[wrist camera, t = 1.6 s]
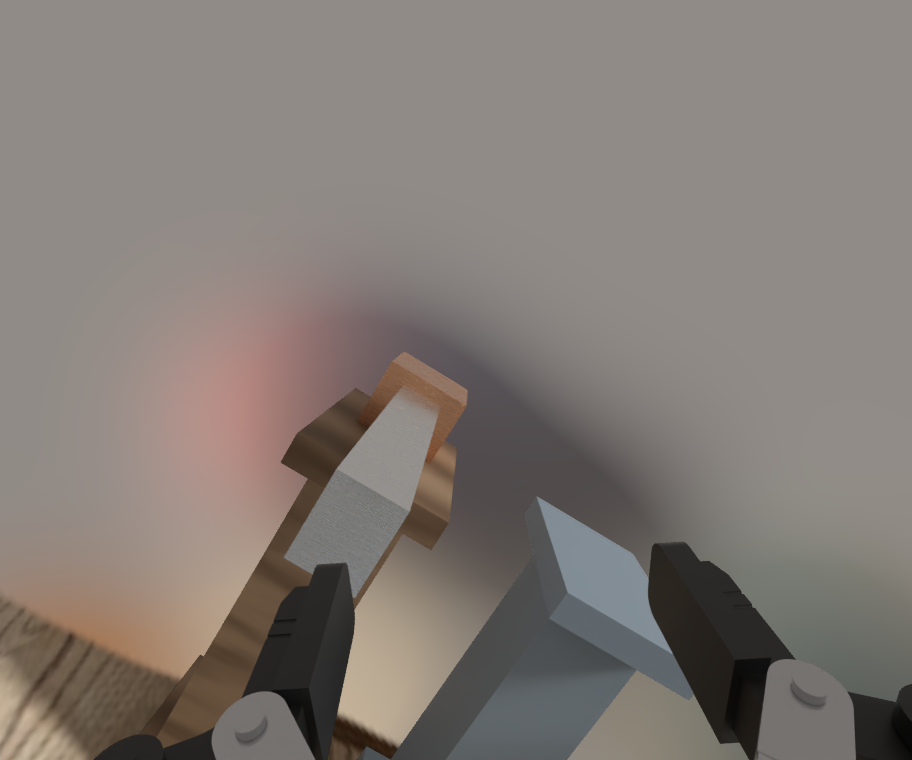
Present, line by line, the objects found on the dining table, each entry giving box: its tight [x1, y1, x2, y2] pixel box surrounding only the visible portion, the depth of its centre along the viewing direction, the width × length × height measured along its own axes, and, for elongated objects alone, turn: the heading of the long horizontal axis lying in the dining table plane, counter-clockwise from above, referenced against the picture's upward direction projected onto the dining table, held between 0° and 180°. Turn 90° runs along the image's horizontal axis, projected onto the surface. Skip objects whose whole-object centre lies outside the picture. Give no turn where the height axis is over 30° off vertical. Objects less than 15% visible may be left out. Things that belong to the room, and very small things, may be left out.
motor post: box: [357, 497, 694, 760], centre depth 38 cm, size 14×10×32 cm
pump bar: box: [284, 352, 467, 598], centre depth 29 cm, size 23×6×5 cm, turn 177°
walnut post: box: [140, 388, 457, 748], centre depth 37 cm, size 14×10×32 cm
